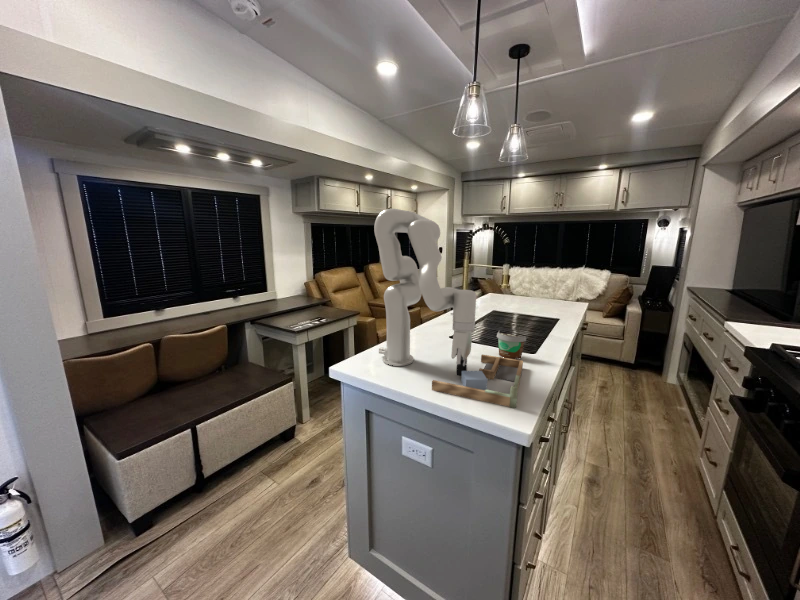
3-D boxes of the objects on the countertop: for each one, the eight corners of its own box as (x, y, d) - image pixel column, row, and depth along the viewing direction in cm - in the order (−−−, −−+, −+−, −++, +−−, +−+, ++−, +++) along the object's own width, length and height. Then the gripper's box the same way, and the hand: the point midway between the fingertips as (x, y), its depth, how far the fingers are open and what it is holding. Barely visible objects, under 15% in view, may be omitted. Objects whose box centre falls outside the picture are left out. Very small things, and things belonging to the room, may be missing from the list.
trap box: (431, 390, 100) (431, 373, 99) (457, 357, 130) (458, 343, 128) (515, 408, 89) (517, 389, 88) (523, 368, 119) (524, 353, 117)
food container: (490, 355, 132) (491, 333, 130) (496, 351, 137) (498, 330, 135) (518, 362, 124) (520, 339, 122) (524, 358, 128) (526, 335, 126)
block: (465, 390, 101) (466, 379, 100) (461, 381, 108) (461, 370, 107) (486, 390, 101) (487, 379, 100) (481, 381, 108) (481, 370, 107)
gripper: (458, 319, 114) (456, 366, 118) (446, 329, 101) (445, 381, 104) (478, 321, 111) (476, 369, 115) (469, 332, 98) (466, 385, 101)
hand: (461, 375), depth 110 cm, fingers closed
